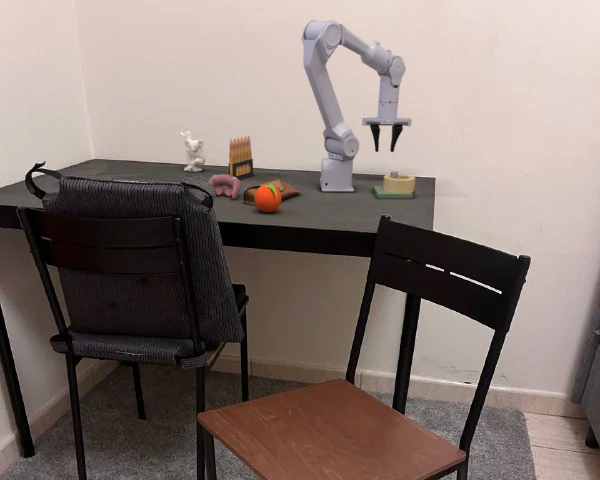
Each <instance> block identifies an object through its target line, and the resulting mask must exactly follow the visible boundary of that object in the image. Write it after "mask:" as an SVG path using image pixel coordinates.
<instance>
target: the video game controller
mask: <svg viewBox="0 0 600 480" xmlns="http://www.w3.org/2000/svg"><path fill="white" fill-rule="evenodd" d="M208 183H209V184H211V185H212V186H213V187H214V188H215V189H216V193H217V194H216V193H215V194H216V195H217V196H222V195H224V193H225V195H226V196H227V197H231V199H232V200H236V199H237V198H238V196H239V194H240V190H241V188H242V181H241V179H239V180H238V179H237V178H236V177H234V176H231V175H229V174H225V173H220V174H213V175H212V176H211V177H210V178H209V179H208V181H207V184H208ZM224 187H226V188H225V191H224Z"/></svg>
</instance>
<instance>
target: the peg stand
mask: <svg viewBox="0 0 600 480" xmlns="http://www.w3.org/2000/svg"><path fill="white" fill-rule="evenodd" d="M389 174H390V178H393V179H398V174H399V171H396V170H393V171H390V173H389ZM372 191H373V192H374V194H375V195H376V197H377V199H413V198H414V194H413V192H411V193H390V192H386V191H384V190H383V185H373V187H372Z"/></svg>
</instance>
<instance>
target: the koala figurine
mask: <svg viewBox="0 0 600 480" xmlns="http://www.w3.org/2000/svg"><path fill="white" fill-rule="evenodd" d="M179 134H180V136H181V137H182V138H183V139H184V145H185V148H186V163H187V164H186V166H185V167H184V169H183V171H187V172H189V173H195V172H197V173H198V172H202V171H203V169H202V168H201V167H203V166H205V164H206V161H207V155H206V152H205V150H204V149H203V147H204V145H205V142H204V140H203V139H198V140H197V139H192V132H191V131H190V130H188V131H185V132H184V133H183V132H182V131H181V132H180V133H179Z"/></svg>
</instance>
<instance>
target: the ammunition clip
mask: <svg viewBox="0 0 600 480" xmlns="http://www.w3.org/2000/svg"><path fill="white" fill-rule="evenodd" d="M243 137H244V138H243ZM228 158H229V159H228V160H229V162H228V175H231V176H234V177H236V178H237V179H238V180H243V179H246V178H250V177H253V176H254V159H253V157H252V144H251V137H250V135H247V136H241V137H237V138H233V140H232V138H231V139H230V140H229V153H228Z"/></svg>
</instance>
